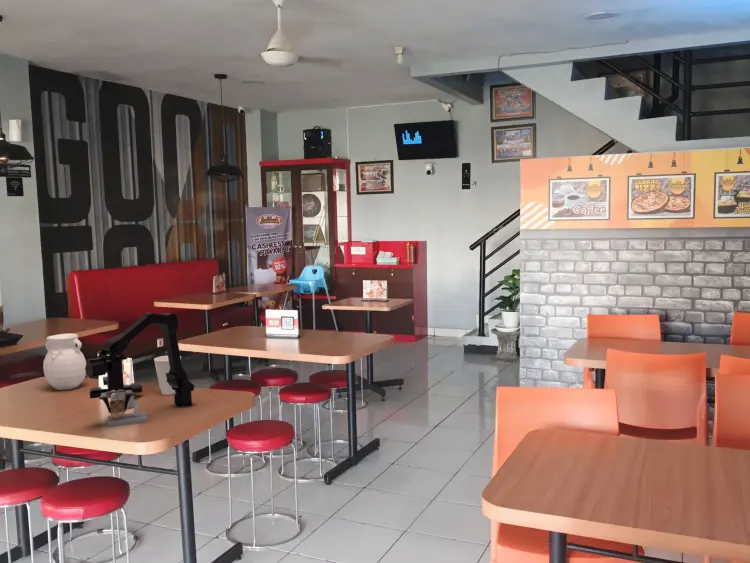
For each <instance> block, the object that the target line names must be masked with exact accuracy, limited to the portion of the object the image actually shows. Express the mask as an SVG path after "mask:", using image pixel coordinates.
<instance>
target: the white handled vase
mask: <svg viewBox="0 0 750 563" xmlns="http://www.w3.org/2000/svg"><path fill="white" fill-rule="evenodd" d="M76 345H77V346H76ZM82 345H83V344H82V342H81V341H80V340H79V335H78V334H77V333H71V332H70V333H61V334H54V335H49V336H47V337H46V342H45V349H46V350H47V353H46V354H45V357H44V359H43V365H42V367H43V368H42V369H43V375H44V378H45V379H46V381H47V383H48V384H50V386H51V387H53V388H54V389H55V390H57V391H67V390H72V389H77V388H78V387H79V386H80V384H82V383H83V381H84V379H85V378H86V376H87V375H86V372H85V367H86V364H87V360H86V358H85V356H84V353H83V352H82V351H81V348H82Z"/></svg>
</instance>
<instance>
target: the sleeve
mask: <svg viewBox="0 0 750 563" xmlns="http://www.w3.org/2000/svg"><path fill="white" fill-rule="evenodd" d="M116 401H119V403H115V402H116ZM116 401H111V400H109V405H110V411H111V413H109V414H110V416H111V417H117V416H125V414H126V411H125V408H124V400H116Z"/></svg>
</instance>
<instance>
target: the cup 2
mask: <svg viewBox="0 0 750 563" xmlns="http://www.w3.org/2000/svg"><path fill="white" fill-rule="evenodd" d="M180 358H181V359H182V356H181V355H180ZM153 361H154V365H155V371H156V376H157V380H158V385H159V389H160V392H161V394H162V395H165V396H166V395H167V396H168V395H174V394H175V390H173V389H172V387H171V386H170V385H169V383H168V382H167V377H166V373H169V370H170V365H169V359H168V355H161V356H157V357H155V358H154V359H153Z"/></svg>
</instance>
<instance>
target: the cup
mask: <svg viewBox="0 0 750 563" xmlns="http://www.w3.org/2000/svg"><path fill="white" fill-rule="evenodd" d="M127 386H131V384H124V387H127ZM134 399H135V397H134V395H133V396H131V397H130V399H129V402H128V405H127V408H126V410H130V409H132V408H133V409H134ZM116 400H124V401H125V392H117V393H111V395H110V401H116Z"/></svg>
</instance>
